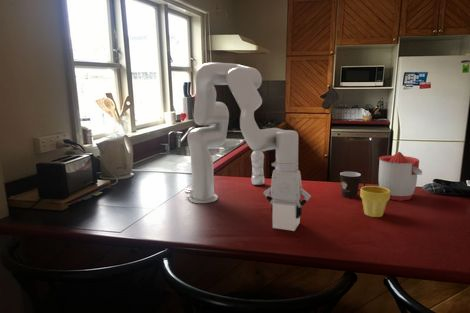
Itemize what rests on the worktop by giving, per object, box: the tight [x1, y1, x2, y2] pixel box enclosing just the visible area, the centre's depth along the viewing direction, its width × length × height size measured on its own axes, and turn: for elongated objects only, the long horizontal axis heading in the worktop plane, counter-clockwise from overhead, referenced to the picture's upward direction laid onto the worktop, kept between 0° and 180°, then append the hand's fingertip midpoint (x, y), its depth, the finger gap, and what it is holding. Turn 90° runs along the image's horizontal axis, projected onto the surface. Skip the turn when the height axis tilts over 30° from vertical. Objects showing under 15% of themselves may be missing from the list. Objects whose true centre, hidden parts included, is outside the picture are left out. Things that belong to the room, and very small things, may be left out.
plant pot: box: [359, 185, 390, 218], centre depth 135 cm, size 10×10×10 cm
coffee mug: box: [339, 171, 366, 199], centre depth 156 cm, size 12×9×10 cm
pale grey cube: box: [272, 200, 301, 232], centre depth 125 cm, size 8×8×9 cm
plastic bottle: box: [250, 150, 266, 186], centre depth 177 cm, size 6×7×20 cm
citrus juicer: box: [378, 151, 423, 202], centre depth 153 cm, size 16×17×20 cm
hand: (286, 215), depth 125 cm, fingers closed on pale grey cube, 7 cm apart
